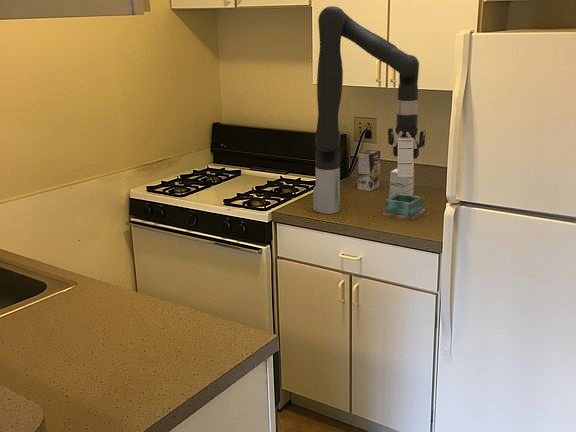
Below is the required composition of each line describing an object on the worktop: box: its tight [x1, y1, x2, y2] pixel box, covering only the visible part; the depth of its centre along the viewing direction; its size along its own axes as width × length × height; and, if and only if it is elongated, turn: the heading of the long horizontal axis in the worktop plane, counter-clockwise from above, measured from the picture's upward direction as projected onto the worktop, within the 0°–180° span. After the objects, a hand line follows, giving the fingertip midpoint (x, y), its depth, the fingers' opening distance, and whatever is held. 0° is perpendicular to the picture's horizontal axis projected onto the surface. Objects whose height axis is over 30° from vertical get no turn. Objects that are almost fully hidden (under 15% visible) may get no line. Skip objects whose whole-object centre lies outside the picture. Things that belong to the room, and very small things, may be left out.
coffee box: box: [357, 149, 381, 192], centre depth 276 cm, size 9×6×16 cm
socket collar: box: [380, 193, 427, 222], centre depth 242 cm, size 13×13×6 cm
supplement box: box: [388, 168, 415, 198], centre depth 258 cm, size 7×7×13 cm
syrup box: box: [396, 137, 415, 177], centre depth 235 cm, size 6×6×14 cm
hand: (405, 157), depth 236 cm, fingers closed on syrup box, 7 cm apart
